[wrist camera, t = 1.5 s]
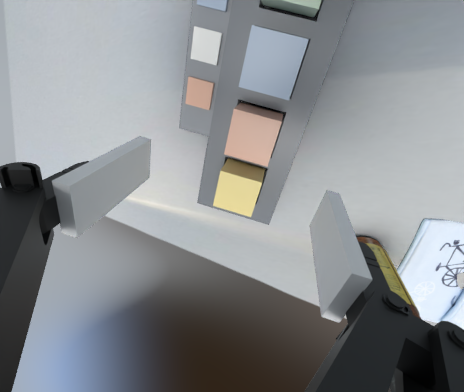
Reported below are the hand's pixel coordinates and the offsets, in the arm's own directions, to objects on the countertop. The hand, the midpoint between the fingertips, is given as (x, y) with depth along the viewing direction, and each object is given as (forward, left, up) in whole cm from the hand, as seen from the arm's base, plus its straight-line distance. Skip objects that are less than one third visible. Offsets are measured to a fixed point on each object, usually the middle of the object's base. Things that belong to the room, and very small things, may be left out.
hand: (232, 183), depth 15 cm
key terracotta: (0, 0, -14) cm, 14 cm away
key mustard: (0, +6, -14) cm, 15 cm away
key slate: (0, -7, -14) cm, 15 cm away
